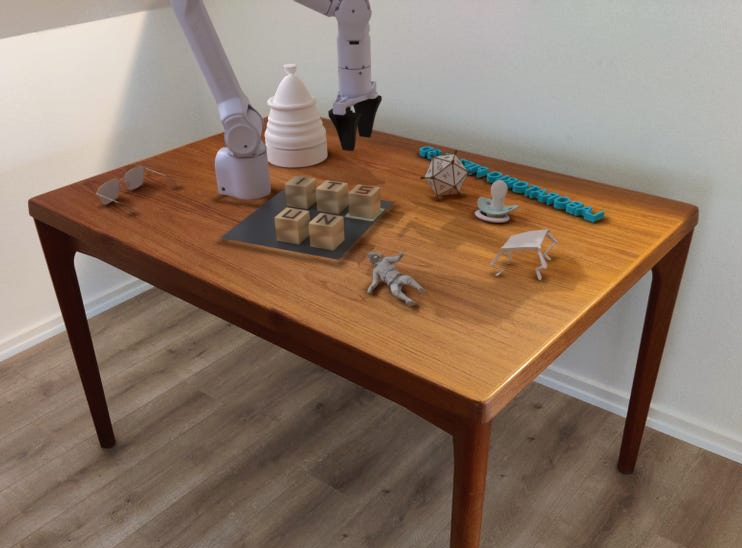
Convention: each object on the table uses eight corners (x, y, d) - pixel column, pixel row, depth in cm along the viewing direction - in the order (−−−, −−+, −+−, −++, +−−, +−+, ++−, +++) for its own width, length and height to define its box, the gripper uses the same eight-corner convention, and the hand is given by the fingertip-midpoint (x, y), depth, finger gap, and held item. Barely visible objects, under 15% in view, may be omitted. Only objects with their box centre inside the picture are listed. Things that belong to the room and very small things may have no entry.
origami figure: (535, 290, 108) (538, 261, 105) (485, 274, 112) (487, 245, 109) (571, 259, 115) (575, 231, 113) (523, 245, 120) (526, 217, 117)
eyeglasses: (146, 181, 146) (143, 162, 144) (179, 190, 144) (177, 171, 141) (98, 208, 136) (94, 188, 133) (132, 218, 133) (129, 198, 131)
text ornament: (603, 217, 127) (604, 211, 127) (593, 222, 126) (594, 216, 125) (427, 150, 156) (427, 145, 156) (417, 154, 155) (417, 149, 154)
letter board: (220, 243, 123) (215, 214, 120) (288, 190, 141) (285, 163, 138) (338, 265, 116) (337, 235, 113) (394, 206, 134) (394, 179, 130)
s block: (349, 215, 128) (348, 192, 126) (358, 206, 131) (358, 183, 129) (371, 219, 127) (370, 195, 124) (380, 209, 130) (380, 186, 127)
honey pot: (267, 147, 161) (257, 61, 150) (325, 144, 162) (320, 58, 151) (266, 169, 150) (257, 78, 140) (329, 165, 151) (324, 74, 141)
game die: (452, 217, 138) (468, 188, 129) (410, 199, 138) (423, 169, 128) (466, 179, 141) (482, 149, 132) (425, 162, 141) (439, 130, 132)
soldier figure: (392, 319, 104) (343, 267, 109) (406, 327, 108) (358, 276, 114) (429, 279, 103) (377, 228, 108) (442, 288, 107) (391, 238, 112)
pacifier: (504, 228, 125) (520, 215, 129) (507, 194, 122) (523, 181, 125) (467, 218, 129) (484, 205, 133) (468, 185, 125) (485, 173, 129)
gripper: (358, 78, 119) (361, 159, 127) (391, 57, 130) (391, 133, 138) (319, 74, 122) (324, 154, 130) (355, 54, 133) (357, 129, 140)
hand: (356, 143), depth 134 cm, fingers open, 7 cm apart
